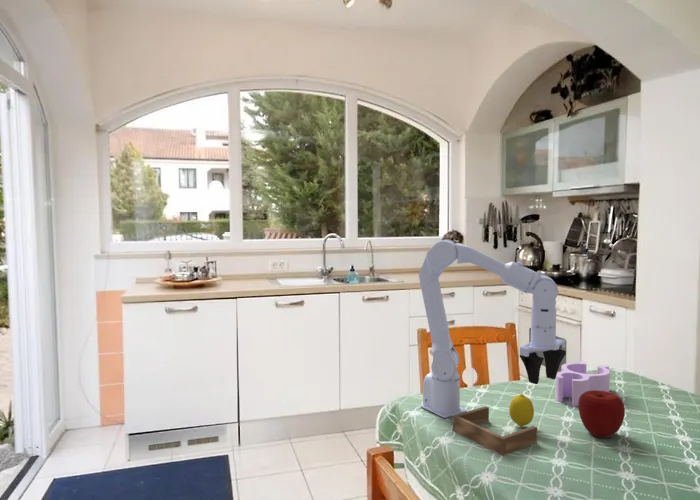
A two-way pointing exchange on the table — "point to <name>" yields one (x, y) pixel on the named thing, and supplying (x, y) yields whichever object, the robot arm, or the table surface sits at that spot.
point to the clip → (580, 381)
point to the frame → (501, 444)
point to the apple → (601, 412)
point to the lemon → (521, 410)
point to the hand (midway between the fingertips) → (542, 380)
